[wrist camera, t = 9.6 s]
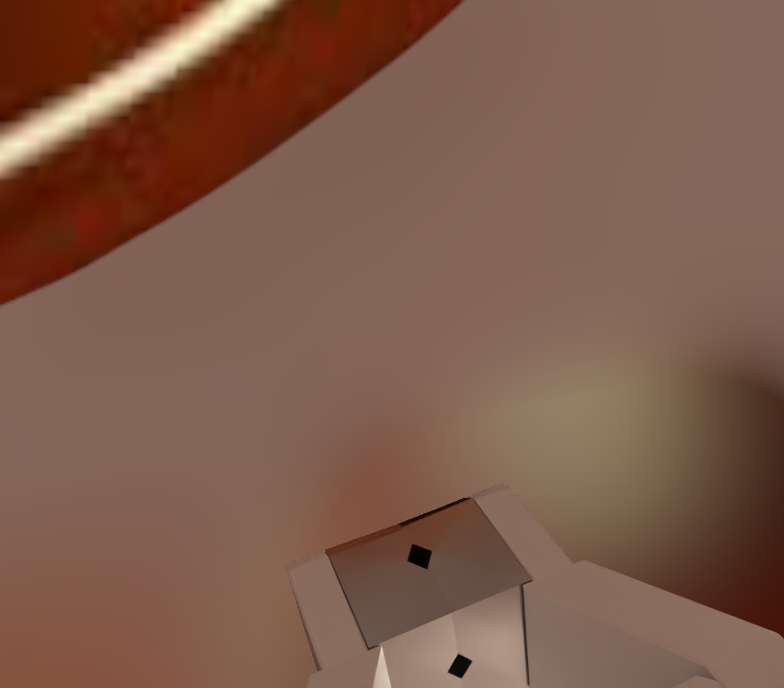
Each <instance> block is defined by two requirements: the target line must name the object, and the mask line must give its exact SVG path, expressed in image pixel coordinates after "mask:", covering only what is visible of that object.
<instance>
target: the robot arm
mask: <svg viewBox="0 0 784 688" xmlns="http://www.w3.org/2000/svg"><path fill="white" fill-rule="evenodd" d="M286 569H287V574H288V577H289V580H290V584H291V587H292V591H293V594H294V597H295V601H296V604H297V608H298V611H299V614H300V618H301V621H302V625H303V628H304V631H305V634H306V638H307V641H308V645H309V648H310V651H311V654H312V657H313V661H314V664H315V667H316V670H317V672H316V673H314V674H312V675H310V676H309V679H308V682H307V685H306V688H529V687H530V688H784V639H783V638H782V637H781V636H780V635H779V634H778V633H775V632H773V631H770V630H767V629H765V628H762V627H759V626H757V625H754V624H751V623H749V622H746V621H744V620H741V619H738V618H736V617H733V616H730V615H728V614H725V613H722V612H720V611H717V610H715V609H712V608H709V607H707V606H704V605H701V604H699V603H696V602H693V601H691V600H688V599H685V598H683V597H680V596H678V595H675V594H672V593H670V592H667V591H665V590H662V589H659V588H657V587H654V586H651V585H649V584H646V583H643V582H641V581H638V580H635V579H633V578H630V577H628V576H625V575H622V574H619V573H617V572H614V571H612V570H609V569H606V568H604V567H601V566H599V565H596V564H593V563H591V562H588V561H585V560H583V561H580V562H578V563H575V564H573V563H572V562H571V560H570V559H569V558H568V557H567V555H566V554H565V553H564V552H563V551H562V549H561V548H560V547H559V546H558V545H557V543H556V542H555V541H554V540H553V539H552V537H551V536H550V535H549V534H548V533H547V531H546V530H545V529H544V528H543V527H542V525H541V524H540V523H539V522H538V520H537V519H536V518H535V517H534V516H533V514H532V513H531V512H530V511H529V510H528V508H527V507H526V506H525V505H524V504H523V502H522V501H521V500H520V499H519V498H518V496H517V495H516V494H515V493H514V492H513V490H512V489H511V488H510V487H509V486H508V485H506V484H504V483H500V484H497V485H495V486H492V487H490V488H487V489H484V490H482V491H479V492H477V493H474V494H472V495H469V496H468V497H467V498H465V497H464V498H462V499H459V500H457V501H454V502H451V503H449V504H446V505H444V506H441V507H439V508H436V509H434V510H431V511H428V512H426V513H423V514H421V515H418V516H416V517H413V518H411V519H408V520H405V521H403V522H400V523H398V524H397V525H394V526H391V527H388V528H385V529H383V530H380V531H377V532H374V533H371V534H369V535H366V536H363V537H360V538H357V539H354V540H351V541H349V542H346V543H343V544H340V545H338V546H334V547H332V548H329V549H326V550H325V552H321V553H318V554H315V555H312V556H309V557H306V558H303V559H300V560H297V561H294V562H291V563H289V564H286Z"/></svg>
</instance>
